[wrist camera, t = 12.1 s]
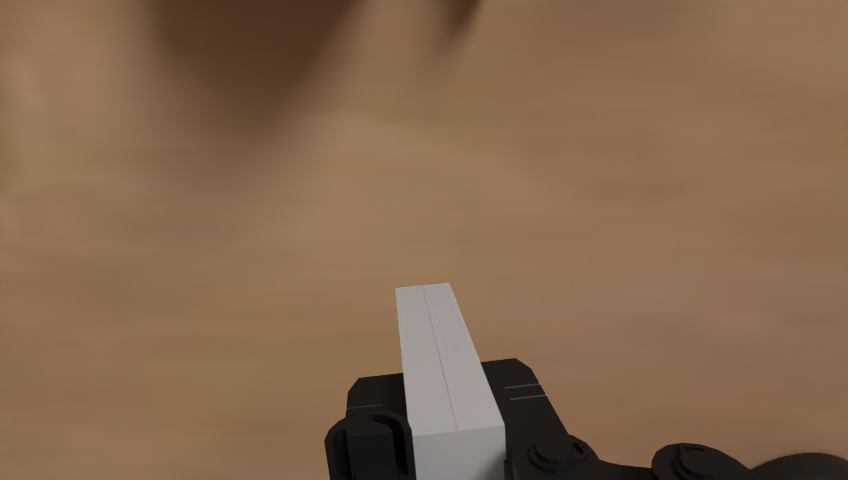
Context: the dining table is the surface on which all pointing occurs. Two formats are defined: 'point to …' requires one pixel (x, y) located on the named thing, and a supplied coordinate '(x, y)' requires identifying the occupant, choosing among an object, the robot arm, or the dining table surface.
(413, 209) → the dining table surface
